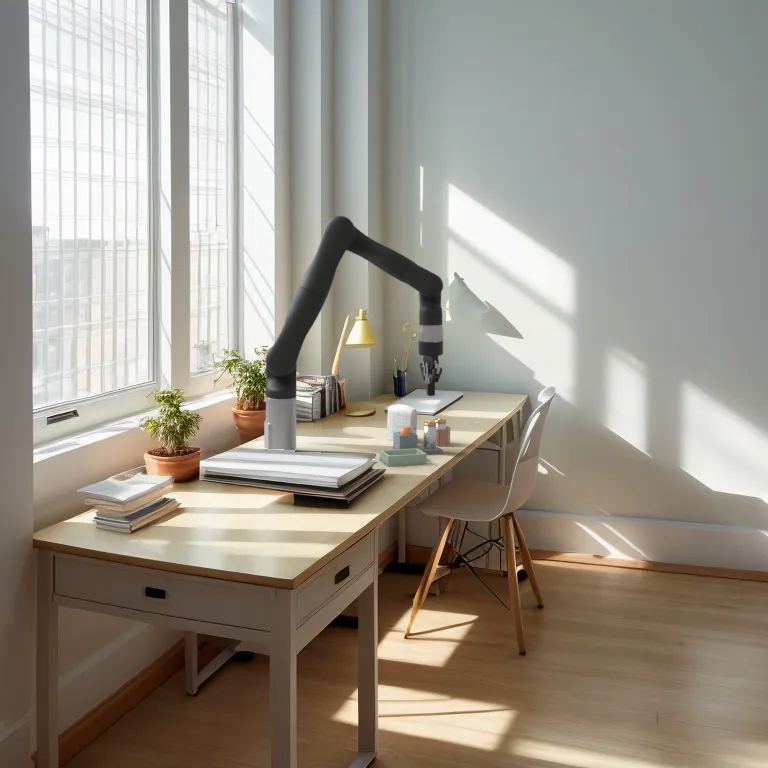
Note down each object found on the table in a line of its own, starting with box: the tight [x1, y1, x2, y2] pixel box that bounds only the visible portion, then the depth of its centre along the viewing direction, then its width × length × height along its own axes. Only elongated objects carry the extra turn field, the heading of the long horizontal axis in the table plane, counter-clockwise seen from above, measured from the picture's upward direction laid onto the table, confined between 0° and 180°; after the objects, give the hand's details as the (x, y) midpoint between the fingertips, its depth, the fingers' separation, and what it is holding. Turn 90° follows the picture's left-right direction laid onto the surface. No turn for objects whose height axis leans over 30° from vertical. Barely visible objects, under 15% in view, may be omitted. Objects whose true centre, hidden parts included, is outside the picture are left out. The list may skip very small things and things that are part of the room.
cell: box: [422, 420, 437, 450], centre depth 274 cm, size 4×4×8 cm
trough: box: [379, 448, 428, 467], centre depth 262 cm, size 12×8×3 cm, turn 109°
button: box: [400, 427, 411, 435], centre depth 274 cm, size 3×3×5 cm
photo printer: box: [386, 403, 418, 442], centre depth 288 cm, size 10×4×12 cm, turn 57°
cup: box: [436, 425, 451, 448], centre depth 285 cm, size 6×6×6 cm
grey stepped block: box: [392, 431, 443, 456], centre depth 274 cm, size 13×9×6 cm
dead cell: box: [433, 417, 447, 429], centre depth 284 cm, size 4×4×8 cm
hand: (430, 395), depth 272 cm, fingers closed
